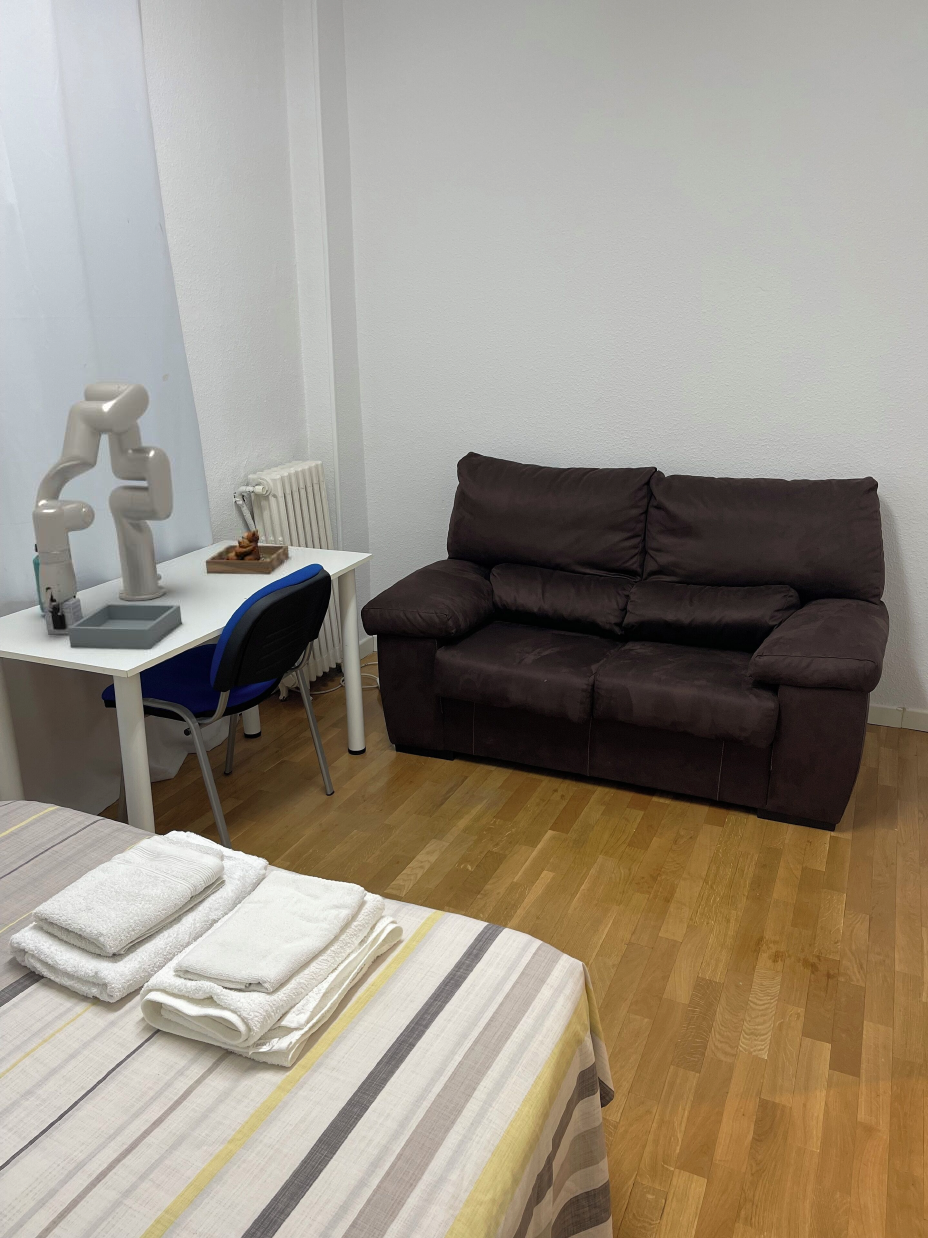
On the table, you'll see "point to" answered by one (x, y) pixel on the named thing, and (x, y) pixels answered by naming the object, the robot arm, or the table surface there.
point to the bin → (125, 626)
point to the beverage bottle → (37, 577)
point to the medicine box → (71, 613)
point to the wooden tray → (247, 567)
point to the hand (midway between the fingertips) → (65, 625)
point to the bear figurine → (247, 548)
